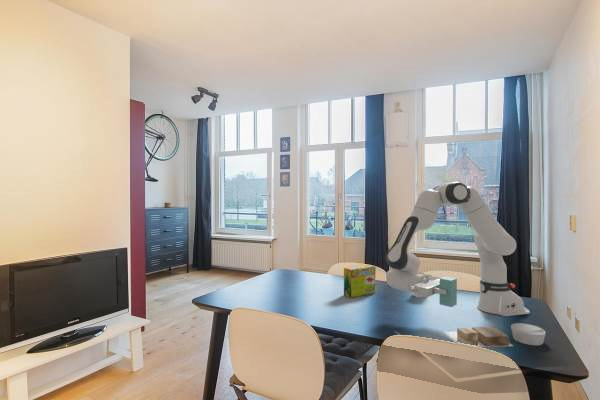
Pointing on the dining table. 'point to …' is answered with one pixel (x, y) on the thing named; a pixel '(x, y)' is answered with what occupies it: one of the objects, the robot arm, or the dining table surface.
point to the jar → (417, 294)
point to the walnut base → (491, 336)
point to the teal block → (451, 286)
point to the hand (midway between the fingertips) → (450, 290)
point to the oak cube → (467, 336)
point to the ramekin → (528, 334)
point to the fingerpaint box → (359, 280)
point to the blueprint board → (454, 337)
